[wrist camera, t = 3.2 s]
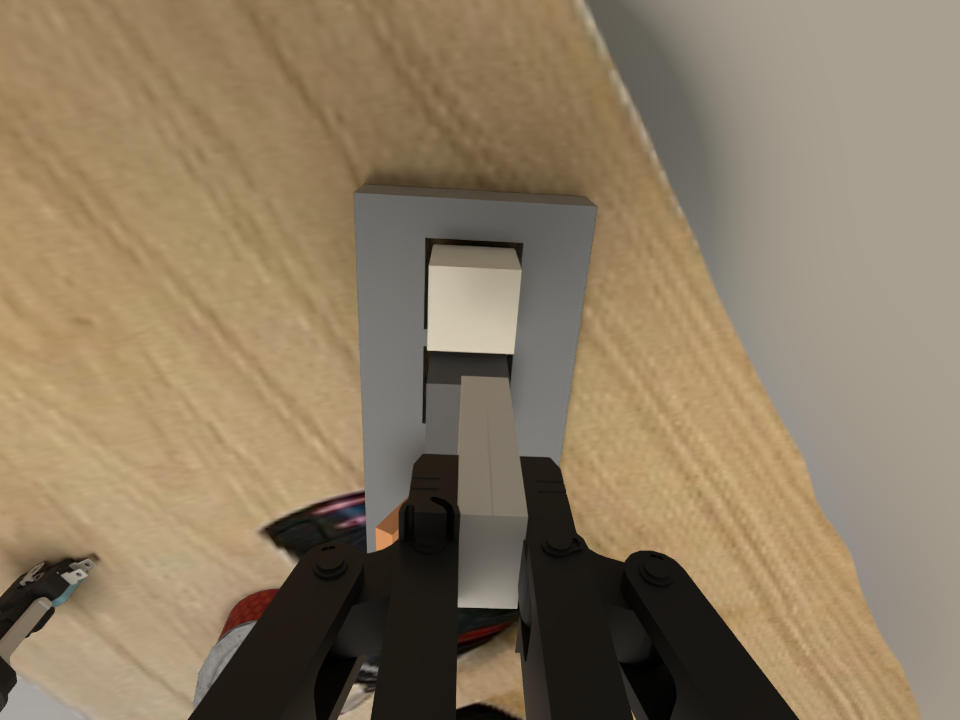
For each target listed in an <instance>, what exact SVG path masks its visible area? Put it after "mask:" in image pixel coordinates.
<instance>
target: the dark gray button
mask: <svg viewBox="0 0 960 720" xmlns="http://www.w3.org/2000/svg"><path fill="white" fill-rule="evenodd" d="M461 376H478V377H501V378H508V380H509V387H510V390H511V385H510V378H509V372H508V366H507V360H506V354H497V353H474V352H451V351H431V354H430V361H429V369H428V376H427V386H426V436H425V454H449V455H458V436H459V416H460V396H461Z"/></svg>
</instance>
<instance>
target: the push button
mask: <svg viewBox="0 0 960 720" xmlns="http://www.w3.org/2000/svg"><path fill="white" fill-rule="evenodd" d="M84 563H88V564H89V565H90V566H86V565H85V564H84ZM44 564H45V563H44V562H43V563H41V564H39V565H37V566H35V567H34V568H33V569H32V570H31V571H30V572H29V573H26V574H23V575H22V576H20V577H19V578H18V579H17V580H16V581H15V582H14V583H13V584H12V585H11V586H10V587H9V588H8V590H7V591H6V592H5V593H4V594H3V595H2V596H1V597H0V612H1V613H0V712H1V711H2V709H3V708H4V707H5V705H6V704H7V701H8V693H9V692H10V691H11V690H12V688H13V687H14V686H15V684H16V683H17V677H16V672H15V671H14V670H13V669H12V667H11V666H10V656H11V654H12V653H13V652H14V651H15V649H16V648H17V647H18V646H19V644H20V643H21V642H22V641H23V640H24V638H27V637H29V636H30V634H31V633H33V632H37V631H39V630H40V629H42V628H43V627H44V625H45V624H46V623H47V621H48V620H49V619H50V618H51V616H52V615H53V614H54V612H55V607H56V606H59V605H61V604H63V603H64V602H65V601H67V599H68V598H69V597H70V596H71V595H72V593H73V591H74V590H75V589H76V588H77V586H78V585H79V584H80V582H81V581H82V580H83V579H84V578H85V577H87V576H88V574H87V573H86V570H88V569H91V568H93V567H95V566H96V564H95V563H94V562H92V561H91V560H90V559H86V560H83V561H81V562H79V563H76V562H75V563H74V562H73V561H72V560H71V559H67V560H65V561H63V562H61V563H59V564H56V565H54V566H52V567H50V568H48V569H45V570H43V571H41V572H39V573H37V572H38V571H39V570H40V569H41V567H42V566H43V565H44ZM35 569H36V570H35ZM34 570H35V571H34ZM33 571H34V572H33ZM36 573H37V574H36Z"/></svg>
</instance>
